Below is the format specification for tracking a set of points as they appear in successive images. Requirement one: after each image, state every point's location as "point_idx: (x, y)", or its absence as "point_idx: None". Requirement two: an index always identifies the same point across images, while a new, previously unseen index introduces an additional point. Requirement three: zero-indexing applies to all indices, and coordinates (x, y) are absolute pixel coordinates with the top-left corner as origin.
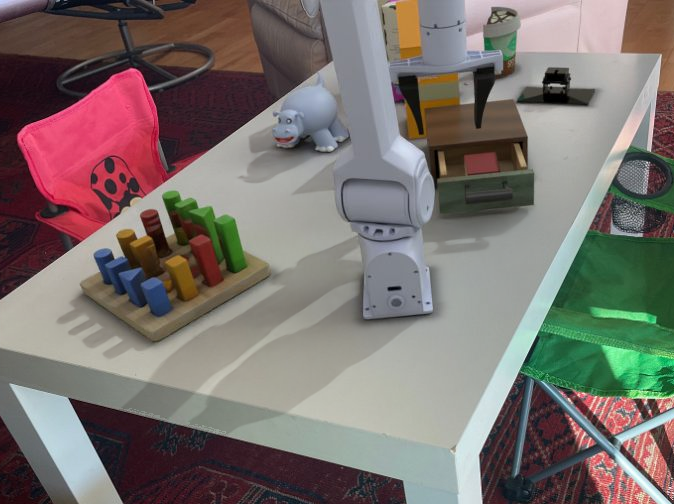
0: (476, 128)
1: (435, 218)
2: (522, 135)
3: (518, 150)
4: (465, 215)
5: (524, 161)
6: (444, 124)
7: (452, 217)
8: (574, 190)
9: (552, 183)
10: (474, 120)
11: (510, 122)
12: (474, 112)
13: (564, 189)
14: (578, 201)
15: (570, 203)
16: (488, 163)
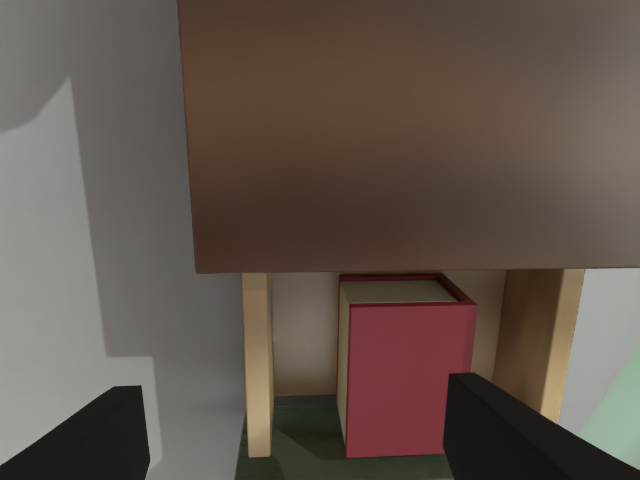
0: (445, 449)
1: (234, 404)
2: (628, 256)
3: (566, 319)
4: (317, 401)
5: (558, 410)
6: (285, 4)
7: (281, 405)
8: (628, 320)
9: (588, 269)
10: (455, 386)
11: (628, 86)
12: (478, 417)
13: (606, 310)
14: (614, 378)
15: (592, 384)
16: (432, 394)
